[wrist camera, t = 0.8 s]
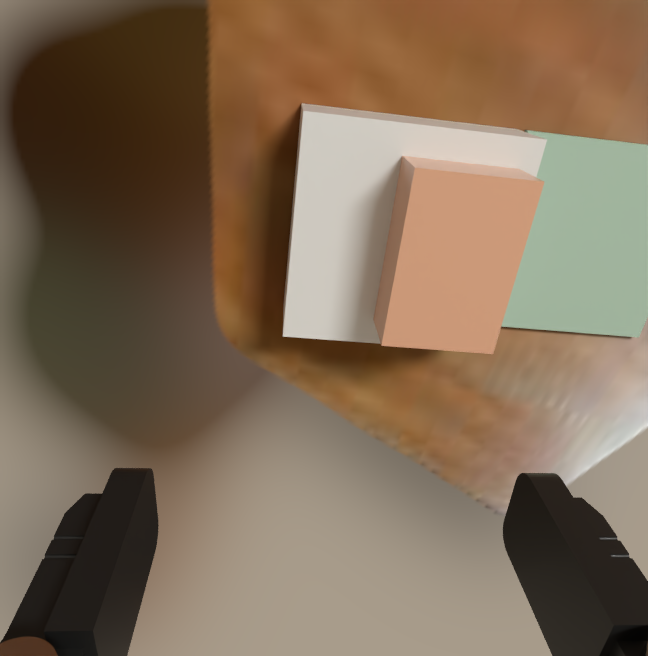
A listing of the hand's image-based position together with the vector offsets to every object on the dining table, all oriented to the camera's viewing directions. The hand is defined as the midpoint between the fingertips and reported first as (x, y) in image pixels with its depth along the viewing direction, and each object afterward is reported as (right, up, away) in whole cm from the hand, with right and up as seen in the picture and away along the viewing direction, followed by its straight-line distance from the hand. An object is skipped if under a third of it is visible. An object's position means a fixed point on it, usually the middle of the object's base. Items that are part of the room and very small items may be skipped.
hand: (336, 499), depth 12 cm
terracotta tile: (+6, +7, +15) cm, 18 cm away
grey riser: (+4, +10, +20) cm, 23 cm away
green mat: (+16, +9, +21) cm, 28 cm away
